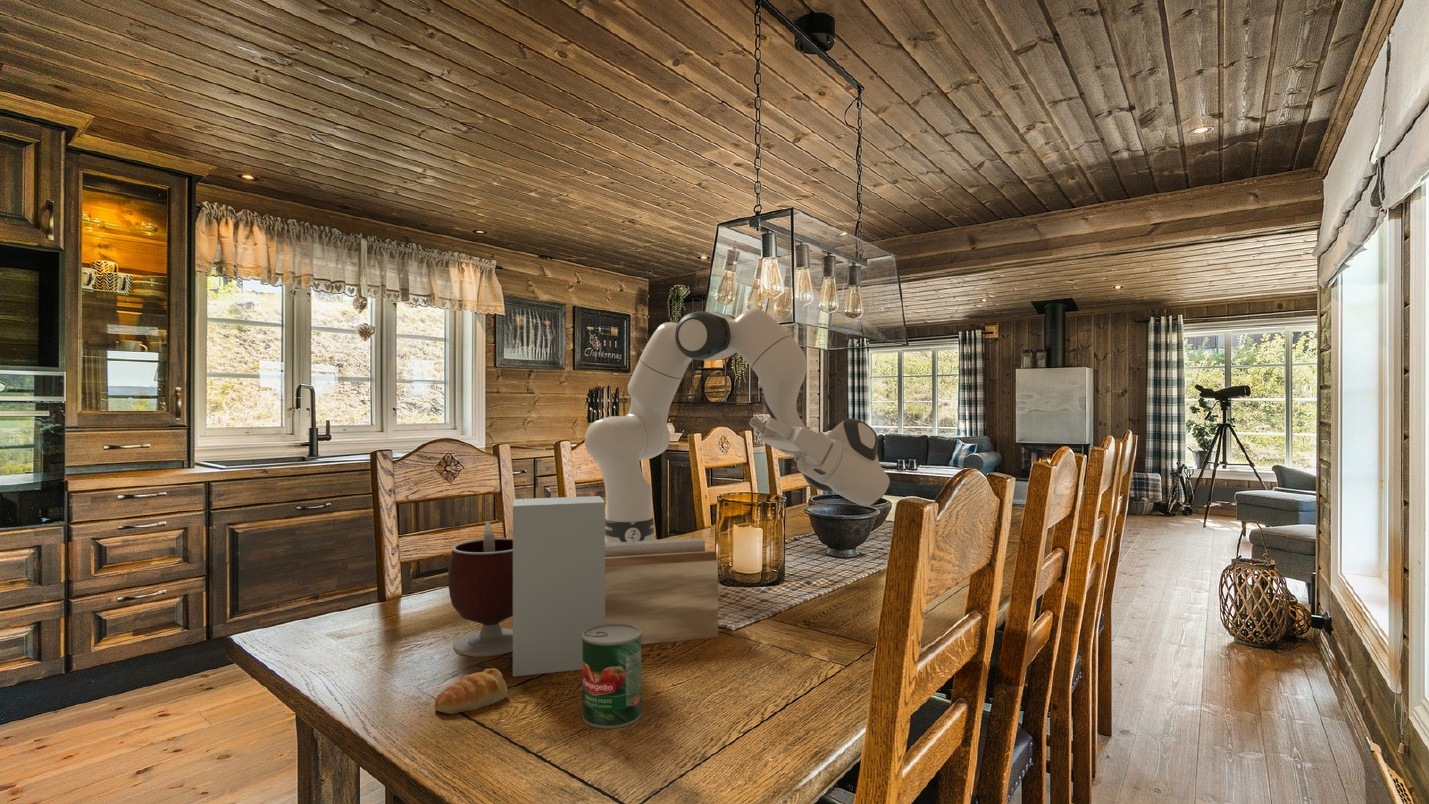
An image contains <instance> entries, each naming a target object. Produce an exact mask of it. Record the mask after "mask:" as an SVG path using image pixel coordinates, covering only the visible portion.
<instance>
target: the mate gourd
mask: <svg viewBox="0 0 1429 804" xmlns="http://www.w3.org/2000/svg"><path fill="white" fill-rule="evenodd" d="M484 524H485V525H484V526H485V527H484V533H483V538H482V539H475V540H468V541H463V542H460V543H457V544H454V545H453V546H452V547H451V554H450V556H449V557H450V558H449V562H448V563H449V564H448V569H447V577H448V580H447V585H448V592H449V598H450V601H451V605H452V607H453V608H454V610H455V611H456V612H457V614H458V615H459V616H461V618H462V619H464V620H466V621H467V620H468V621H472V622H475V623H479V624H482V628H481V629H480V630H477V631H472V632H469V633H465V634H463V635H462V636H460V637H457V638H456V639H455V640H454V642H453V644H452V647H453V651H454V652H455V653H456V652H457V654H458V653H459V654H458V655H461V654H463V655H462V656H465V655H467V656H466V657H478V658H479V657H491V656H499V655H503V654H508V653H511V652H512V653H513V628H504V627H503V628H501V625H500V623H501V622H503V621H505V620H507V619H508V618H509V619H510V618H511V617H512V618H513V537H512V538H510V537H509V538H508V537H507V538H506V537H500V538H496V537H495V535H494V532H493V528H492V525H491V523H490V521H489V520H486V521H485V523H484Z"/></svg>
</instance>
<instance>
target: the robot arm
mask: <svg viewBox="0 0 1429 804" xmlns="http://www.w3.org/2000/svg"><path fill="white" fill-rule="evenodd" d="M737 355H739V356H740V357H742V359H743V360H745V362H746V363H747V364H748V366H749V367H750V368H751V369H752V370H753V371H754V372H755V374H756V376H757V378H758V380H759V381H760V384H761V387H762V391H763V404H764V407H765V409H766V411H767V413H768V414H769V416H770V417H768V418H767V420H766V422H764V421H762V420H761V419H759V418H757V417H751V418H750V420H749V422H748V425H749V426H750V427H752V428H754V429H755V430H756V431H757V432H758V433H759V434H760V436H759V440H761V441H762V443H765V444H767V445H768V446H770V447H772V448H773V449H776V450H777V451H779V452H780V453H783V454H785V455H787V456H790V457H791V456H792V457H793V460H794V462H796V469H797V471H799V472H800V473H801V474H802V476H803V478H804V480H805V481H806V483H807V484H808V485H809V486H811V487H812V488H813V489H815V490H819V491H822V492H834V493H836V494H837V495H839V496H841V497H843V498H844V499H846V500H848V501H850V502H852V503H854V504H857V505H860V506H863V507H871V506H872V505H874V504H875V503H878V501H879V500H880V499H882V498H883V497H884V496H885V494H886V493H887V491H888V489H889V486H890V481H891V480H890V477H889V475H888V474H887V473H886V472H885V470H884V469H883V467H882V466H881V463H880V461H879V457H878V446H879V445H878V444H879V443H878V442H879V441H878V436H877V433H876V431H875V429H873V428H872V427H871V426H870V425H869V424H868V423H866V422H864V421H862V420H859V419H857V418H845V419H844V420H842V422H840V423H838V424H837V425H836V426H835V427H834V428H833V429H832V430H831V431H830V432H829V433H828V434H826V433H824V432H817V431H814V430H812V429H810V428H808V427H806V425H805V424H804V423H803V421H802V419H801V418H800V416H799V413H798V409H797V401H798V396H799V393H800V390H801V387H802V385H803V383H804V380H805V378H806V374H807V358H806V357H807V356H806V354H805V352H804V350H803V349H802V347H801V346H800V345H799V344H798V343H797V341H796V340H795V339H794V337H792V336H791V335H790V333H789V332H788V331H787V330H786V329H785V328H784V327H783V326H782V325H781V324H780V323H779V322H778V321H777V320H776V319H774V318H773V317H772V316H771V315H770V314H769V313H767V312H766V311H764V310H763V309H760V308H750V309H747V310H745V311H743V312H742V313H740V314H739V315H738V316H737V317H734V316H733V315H730V314H725V313H722V312H718V311H705V310H704V311H703V310H700V311H699V310H698V311H694V312H690V313H688V314H686V315H684V316H683V317H682V318H681V319H680V320H679V322H672V321H669V322H668V321H666V322H663V323H662V324H659V326H657V328H656V330H655V331H654V332H653V334H652V335H651V337H650V338H649V340H648V341H647V343H646V346H645V347H644V349H643V351H642V353H641V355H640V357H639V359H638V362H637V363H636V366H635V369H634V371H633V372H632V375H631V378H630V379H629V381H628V385H627V393H628V395H629V397H630V398H631V401H630V406H629V411H628V413H627V414H626V415H620V416H618V415H613V416H611V415H610V416H607V417H603V418H600V419H599V420H598V419H597V420H595V421H593V422H592V423H590V424H589V425H588V427H587V429H586V432H585V434H584V446H585V449H586V452H587V453H588V454H589V456H590V457H591V458H592V459H593V460H594V461H595V462H596V465H598V467H599V470H600V473H601V476H602V479H603V484H604V489H605V543H613V542H631V541H649V540H658V539H657V538H656V537H655V535H654V532H655V521H654V519H655V518H653V488H652V485H651V483H650V481H648V480H647V479H646V478H645V476H644V474H643V472H642V467H641V462H640V461H645V460H650V459H653V458H656V457H657V456H659V455H660V454H661V455H662V454H663V453H664V452H665V451H666V450H667V448H668V447H669V444H670V441H671V440H670V439H671V435H670V430H669V427H668V418H669V411H670V409H671V408H670V407H671V404H672V402H673V400H674V398H675V397H676V396H675V395H676V392H677V390H678V389H679V386H680V385H681V382H682V380H683V378H684V375H685V374H686V370H687V369H688V367H689V364H691V362H692V361H693V360H696V361H705V362H716V361H720V360H729V359H732V358H733V357H736V356H737Z"/></svg>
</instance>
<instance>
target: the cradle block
mask: <svg viewBox="0 0 1429 804" xmlns="http://www.w3.org/2000/svg"><path fill="white" fill-rule="evenodd" d="M612 623H620V624H629V625H633V626H636V627H638V628H639V629H640V630H641V633H642V634H641V645H650V644H659V643H661V644H663V643H671V642H672V643H673V642H679V641H682V642H683V641H690V640H701V639H702V640H703V639H711V638H719V561H718V560H717V551H716V550H705V551H701V552H685V553H668V554H652V555H635V556H619V557H605V624H612Z"/></svg>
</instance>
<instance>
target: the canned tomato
mask: <svg viewBox="0 0 1429 804" xmlns="http://www.w3.org/2000/svg"><path fill="white" fill-rule="evenodd" d="M641 634H642V633H641V630H640V629H639V628H638V627H636V626H633V625H629V624H620V623H612V624H602V625H597V626H593V627H590V628H588V629H586V630H585V631H584V632H583V633H582V669H581V670H582V671H581V673H582V678H581V681H582V683H581V684H582V696H581V697H582V716H581V718H582V721H583V722H584V724H587V725H588V726H590V727H592V728H597V729H606V730H607V729H609V730H611V729H619V728H624V727H628V726H630V725H632V724H634V723H636V722H637V721H639V720H640V719H641V717H642V715H643V710H642V695H643V693H642V682H643V681H642V644H641Z"/></svg>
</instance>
